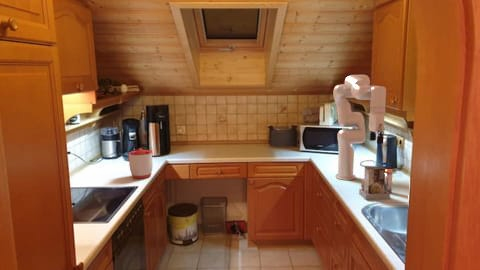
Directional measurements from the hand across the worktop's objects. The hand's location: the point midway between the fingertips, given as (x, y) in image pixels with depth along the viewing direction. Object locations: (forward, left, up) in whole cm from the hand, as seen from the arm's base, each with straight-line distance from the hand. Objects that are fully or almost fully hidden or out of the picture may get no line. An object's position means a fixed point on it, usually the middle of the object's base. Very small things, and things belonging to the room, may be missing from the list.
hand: (376, 142), depth 202 cm
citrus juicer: (-55, -139, -31) cm, 152 cm away
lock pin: (-7, +10, -30) cm, 33 cm away
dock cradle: (0, 0, -30) cm, 30 cm away
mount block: (-13, +4, -30) cm, 33 cm away
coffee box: (0, 0, -30) cm, 30 cm away
